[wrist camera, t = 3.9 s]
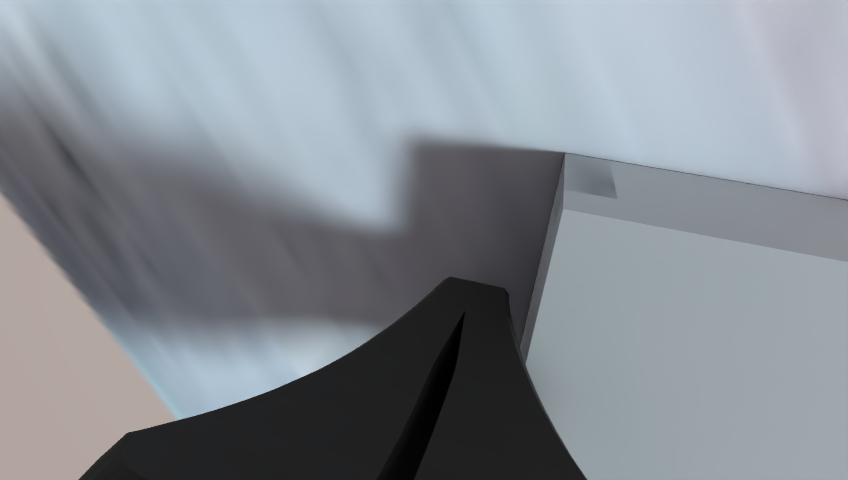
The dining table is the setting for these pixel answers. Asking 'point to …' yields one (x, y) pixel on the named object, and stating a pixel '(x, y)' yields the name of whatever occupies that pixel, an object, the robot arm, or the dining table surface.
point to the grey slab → (692, 326)
